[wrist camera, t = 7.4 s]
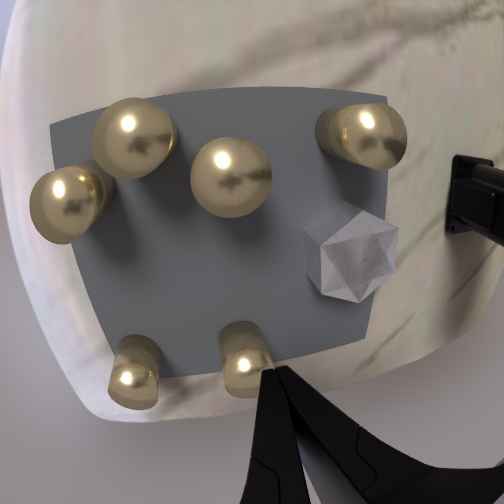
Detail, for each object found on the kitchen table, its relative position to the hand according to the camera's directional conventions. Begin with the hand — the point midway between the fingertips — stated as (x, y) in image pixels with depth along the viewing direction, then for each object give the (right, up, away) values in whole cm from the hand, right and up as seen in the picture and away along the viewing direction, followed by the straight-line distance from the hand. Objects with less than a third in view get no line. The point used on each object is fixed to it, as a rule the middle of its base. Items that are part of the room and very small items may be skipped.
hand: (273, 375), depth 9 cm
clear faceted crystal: (+5, +4, +8) cm, 11 cm away
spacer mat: (-2, +4, +8) cm, 9 cm away
